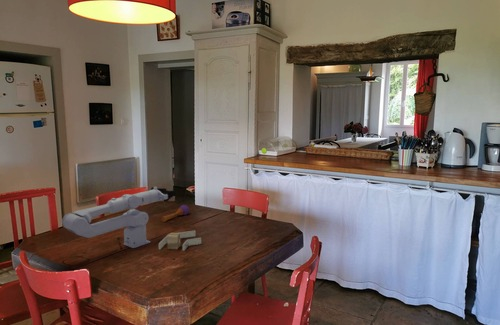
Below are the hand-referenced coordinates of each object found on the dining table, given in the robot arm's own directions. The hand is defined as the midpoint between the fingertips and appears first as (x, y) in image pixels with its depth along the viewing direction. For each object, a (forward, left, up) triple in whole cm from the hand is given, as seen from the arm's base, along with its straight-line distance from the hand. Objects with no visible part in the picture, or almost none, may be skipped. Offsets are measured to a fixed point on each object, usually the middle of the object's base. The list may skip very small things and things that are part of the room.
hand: (170, 191), depth 180 cm
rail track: (-7, -15, -21) cm, 27 cm away
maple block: (-12, -16, -21) cm, 30 cm away
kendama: (+19, +19, -22) cm, 34 cm away
